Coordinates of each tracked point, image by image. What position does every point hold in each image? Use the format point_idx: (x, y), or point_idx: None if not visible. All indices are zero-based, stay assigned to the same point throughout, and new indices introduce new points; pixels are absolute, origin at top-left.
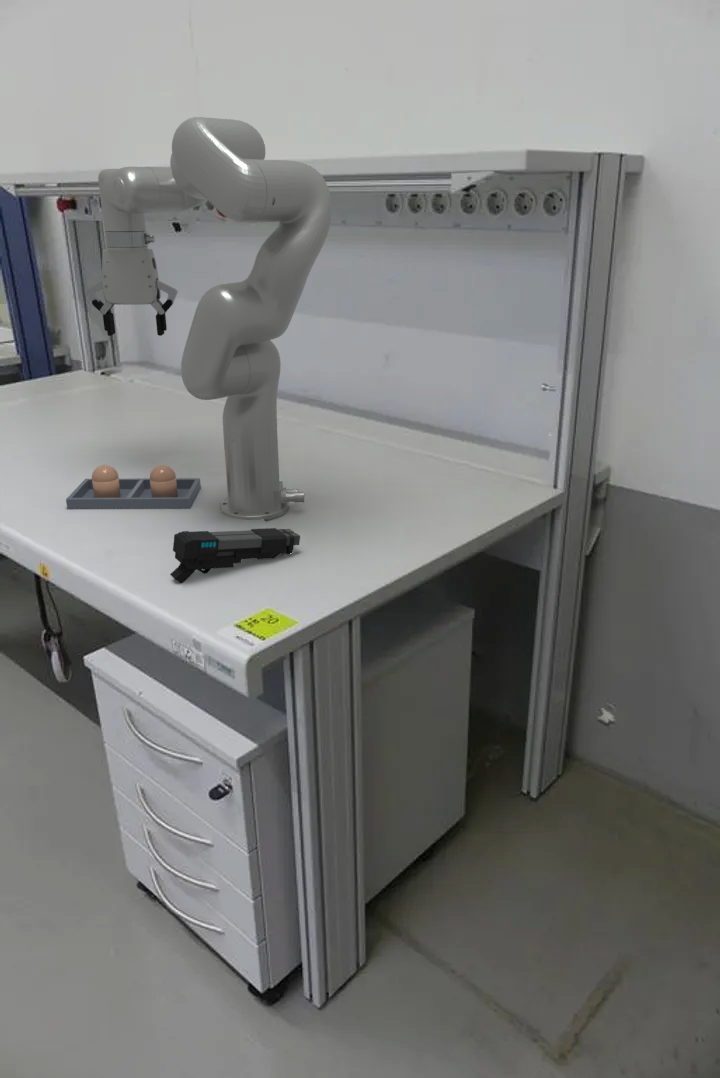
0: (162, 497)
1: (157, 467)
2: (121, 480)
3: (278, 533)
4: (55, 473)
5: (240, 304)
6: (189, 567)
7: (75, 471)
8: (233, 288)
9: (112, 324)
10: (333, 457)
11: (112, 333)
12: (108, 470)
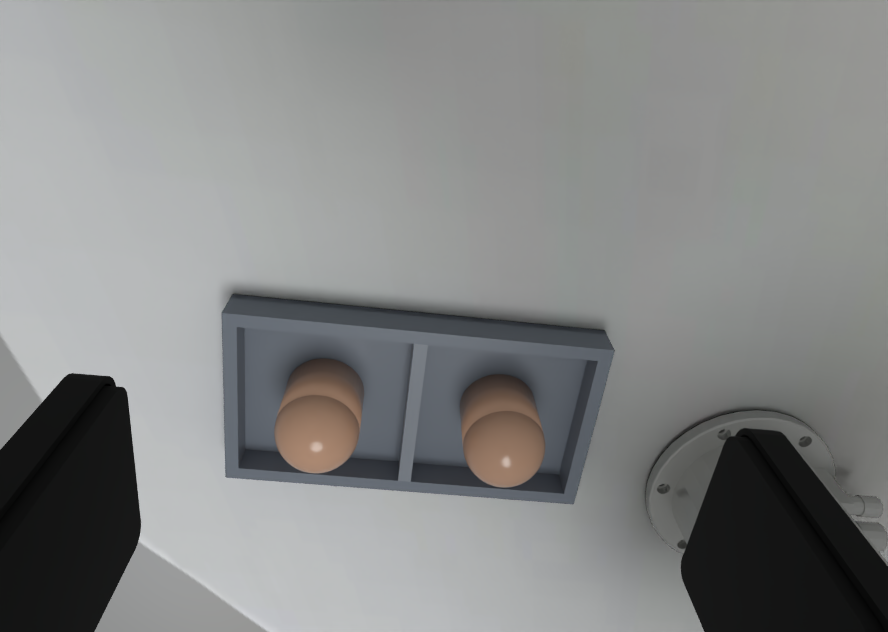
0: (500, 488)
1: (494, 478)
2: (351, 336)
3: None
4: (30, 79)
5: None
6: None
7: (105, 62)
8: None
9: (79, 547)
10: None
11: (133, 507)
12: (332, 466)
